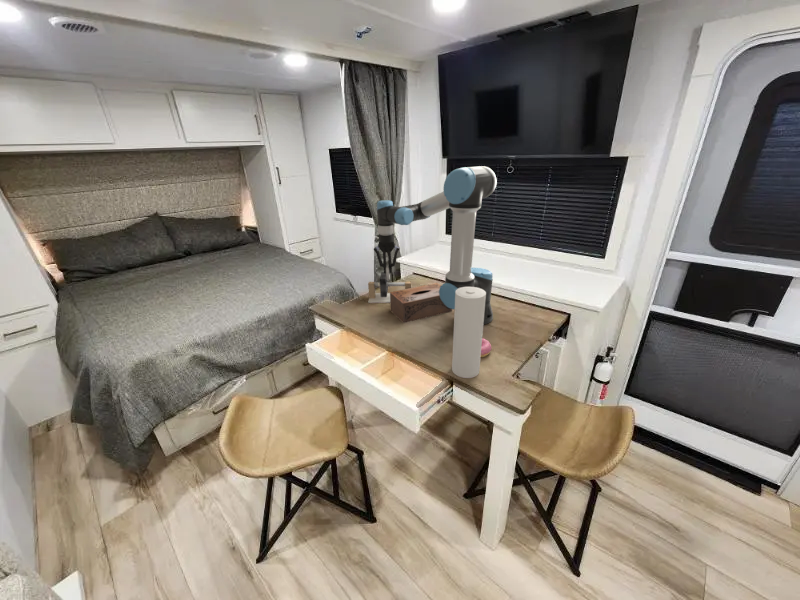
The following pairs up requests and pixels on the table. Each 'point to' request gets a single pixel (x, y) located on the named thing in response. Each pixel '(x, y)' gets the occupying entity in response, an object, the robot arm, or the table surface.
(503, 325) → the table surface
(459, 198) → the robot arm
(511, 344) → the table surface
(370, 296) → the rail stand
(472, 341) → the cylinder container
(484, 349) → the doughnut
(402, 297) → the tissue box cover
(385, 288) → the collar
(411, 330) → the table surface
